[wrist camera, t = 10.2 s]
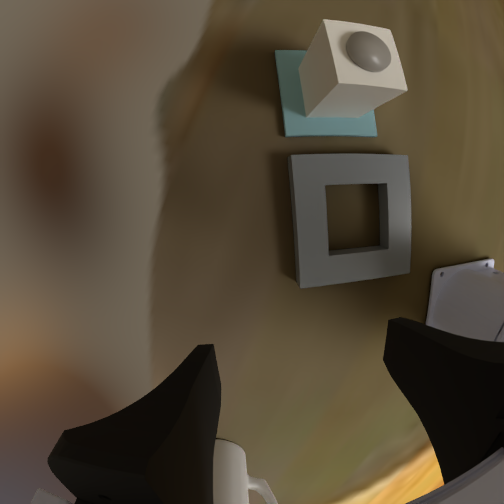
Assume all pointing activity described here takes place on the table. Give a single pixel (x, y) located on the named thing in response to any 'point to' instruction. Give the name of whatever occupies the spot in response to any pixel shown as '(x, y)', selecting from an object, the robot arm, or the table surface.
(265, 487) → the mug
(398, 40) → the table surface
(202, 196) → the table surface
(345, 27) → the plug
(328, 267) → the grey square frame
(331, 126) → the mat
